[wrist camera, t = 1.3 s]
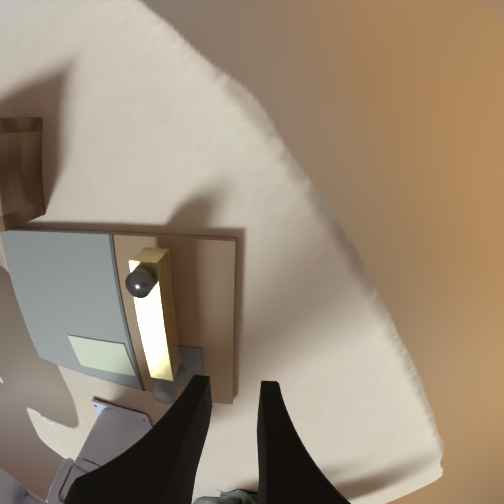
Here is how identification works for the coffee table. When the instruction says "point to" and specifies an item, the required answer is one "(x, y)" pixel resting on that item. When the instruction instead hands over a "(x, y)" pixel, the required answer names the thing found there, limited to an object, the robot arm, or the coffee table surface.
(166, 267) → the latch bar
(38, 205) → the display tray
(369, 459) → the coffee table surface
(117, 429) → the robot arm
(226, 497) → the rose bouquet
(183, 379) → the door board
